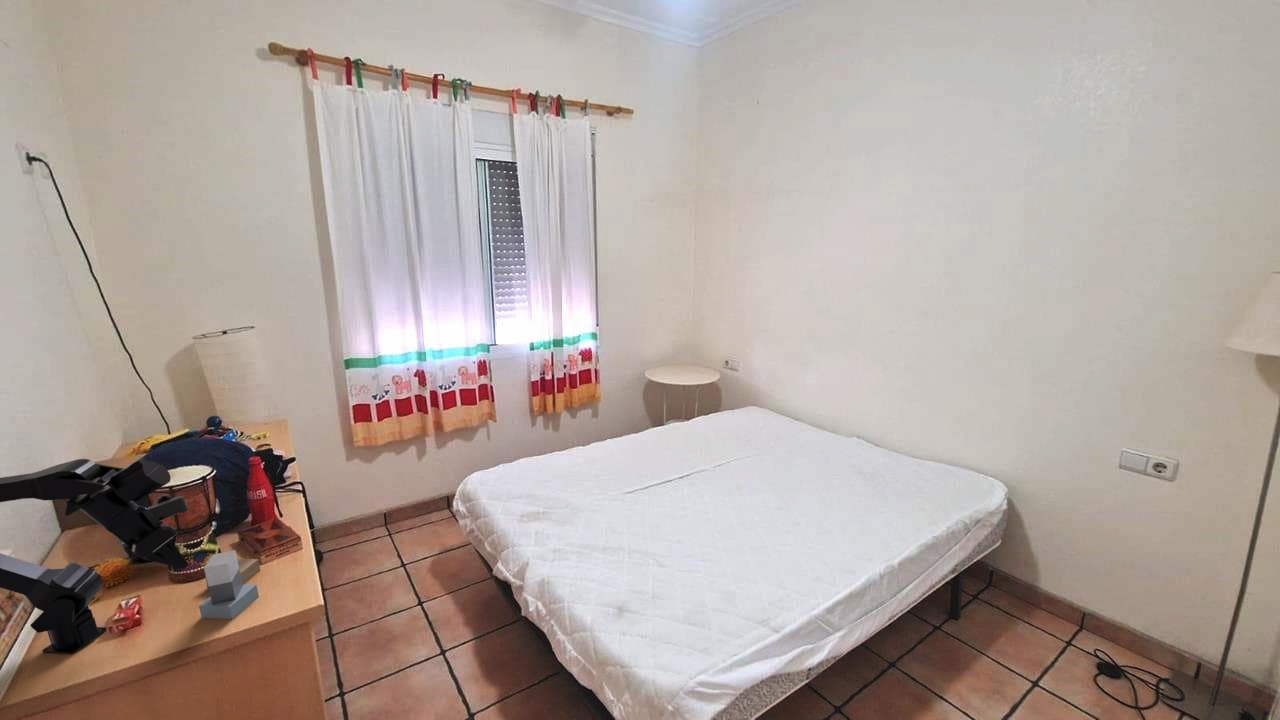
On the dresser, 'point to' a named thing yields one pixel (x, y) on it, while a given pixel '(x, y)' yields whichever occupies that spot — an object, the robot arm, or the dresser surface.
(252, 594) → the stand
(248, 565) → the stand
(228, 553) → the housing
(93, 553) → the dresser surface
